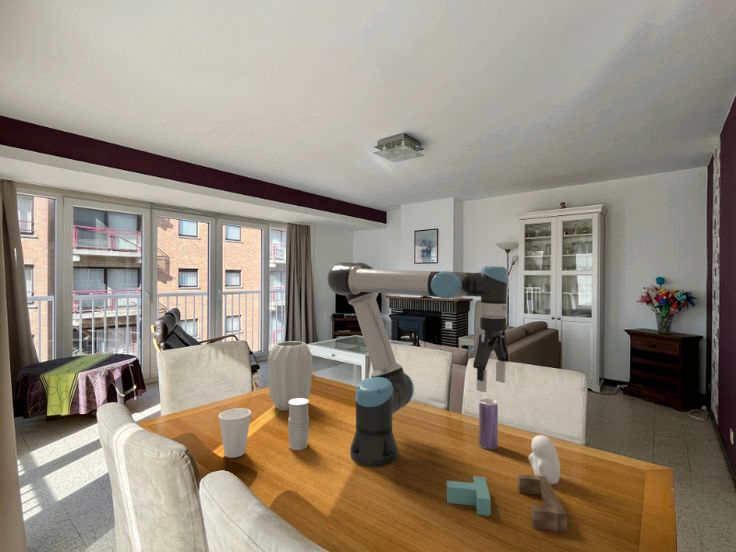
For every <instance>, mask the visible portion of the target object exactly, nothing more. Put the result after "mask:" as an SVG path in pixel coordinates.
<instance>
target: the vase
mask: <svg viewBox="0 0 736 552" xmlns="http://www.w3.org/2000/svg"><path fill="white" fill-rule="evenodd" d="M308 346H309V345H307V343H306V342H304V341H298V340H296V341H292V340H290V341H289V340H288V341H281V342H277V343H275V344H273V346H272V348H271V350H270V352H269V354H268V357H267V367H268V368H267V371H268V384H269V385H268V388H269V398H270V399H271V402H272V403H273V405H274V407H276V408H277V410H279V411H281V410H282V412H283V411H286V412H287V411H289V404H288V403H289V401H290V400H292V399H296V398H305V399H308V400H309V397H310V395H311V387H312V377H313V376H312V375H313V355H312V353H311V350H310V349H309V347H308Z"/></svg>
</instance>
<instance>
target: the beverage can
mask: <svg viewBox="0 0 736 552" xmlns="http://www.w3.org/2000/svg"><path fill="white" fill-rule="evenodd" d="M498 406H499V405H498V402H497V400H493V399H489V398H482V399H480V400H479V403H478V411H479V412H478V444H479V446H480V447H481V448H482V449H484V450H491V451H492V450H496V449H497V448H498V446H499V445H498V444H499V443H498V442H499V440H498V439H499V438H498V433H499V431H498V430H499V428H498V426H499V423H498V421H499V419H498V418H499V415H498V414H499V413H498V409H499V407H498Z"/></svg>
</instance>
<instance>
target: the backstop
mask: <svg viewBox="0 0 736 552" xmlns="http://www.w3.org/2000/svg"><path fill="white" fill-rule="evenodd" d="M517 491H518V493H519V494H525V495H526V494H527V495H537V496H539V497H540V498H541V501H542V503H543V504H544V505H543V506H540V505H531V525H532V527H533V529H537V530H545V531H555V532H565V533H567V532H568V513H567V512H566V510H565V508H564V506H563V504H562V502H561V500H560V499H559V498H558V496H557V494H556V493H555V491H554V489H553V487H552V484H550V483H549V482H548V480H547V478H546V477H545V476H535V474H534V475H533V474H532V475H531V474H522V473H517Z"/></svg>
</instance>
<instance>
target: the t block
mask: <svg viewBox="0 0 736 552" xmlns="http://www.w3.org/2000/svg"><path fill="white" fill-rule="evenodd" d="M491 500H492V499H491V495H490V492H489V487H488V485H487V480H486V477H485V476H477V475H476V476H475V475H472V482H467V481H466V482H465V481H457V480H446V503H447V504H456V505H457V504H458V505H466V506H473V507H474V506H475V508H476V513H477V515H479V516H488V517H490V516H492V515H491V511H492V509H491V507H492V504H491V502H492V501H491Z"/></svg>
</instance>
